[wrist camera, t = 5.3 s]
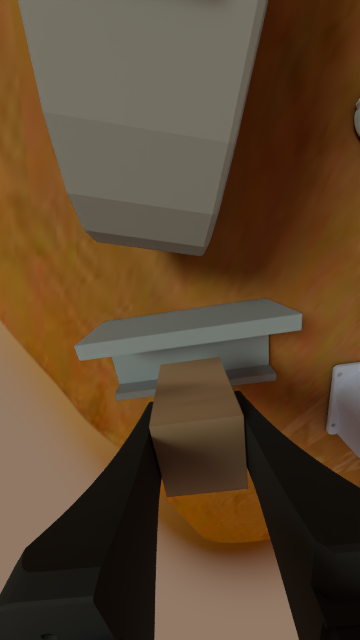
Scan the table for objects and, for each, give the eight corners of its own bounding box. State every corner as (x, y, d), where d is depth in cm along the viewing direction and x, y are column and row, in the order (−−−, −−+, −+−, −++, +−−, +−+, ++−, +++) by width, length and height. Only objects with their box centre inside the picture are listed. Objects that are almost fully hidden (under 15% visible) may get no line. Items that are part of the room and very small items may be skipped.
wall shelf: (266, 367, 20) (297, 406, 15) (123, 386, 21) (104, 429, 16) (265, 297, 18) (302, 313, 13) (104, 321, 19) (74, 346, 13)
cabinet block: (224, 413, 14) (248, 492, 9) (171, 420, 14) (168, 501, 9) (219, 356, 13) (243, 415, 8) (160, 364, 13) (148, 426, 8)
